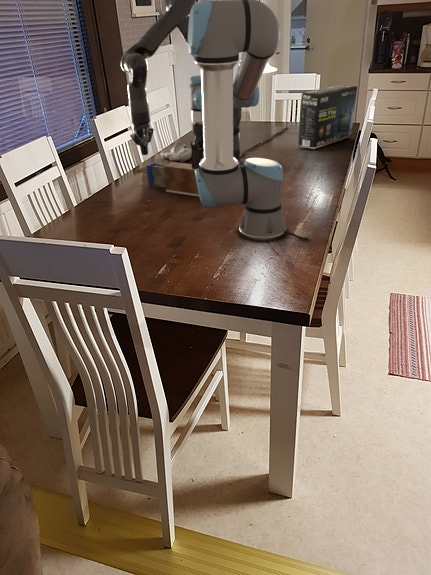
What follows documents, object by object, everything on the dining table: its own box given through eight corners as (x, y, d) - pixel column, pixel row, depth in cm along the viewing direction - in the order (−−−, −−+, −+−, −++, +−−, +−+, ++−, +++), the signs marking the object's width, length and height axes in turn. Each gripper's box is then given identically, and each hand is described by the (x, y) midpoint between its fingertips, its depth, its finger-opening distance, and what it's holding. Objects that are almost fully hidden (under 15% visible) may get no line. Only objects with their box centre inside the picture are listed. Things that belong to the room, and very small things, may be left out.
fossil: (184, 156, 217) (163, 136, 220) (174, 174, 223) (154, 154, 227) (205, 153, 231) (186, 134, 234) (195, 171, 237) (176, 152, 240)
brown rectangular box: (166, 191, 187) (163, 166, 182) (174, 186, 192) (172, 161, 187) (210, 198, 178) (208, 171, 173) (218, 193, 183) (216, 166, 178)
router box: (314, 151, 231) (318, 94, 217) (296, 148, 237) (299, 92, 224) (352, 138, 251) (358, 85, 238) (335, 135, 258) (340, 83, 245)
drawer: (137, 184, 194) (135, 164, 189) (145, 181, 198) (142, 160, 193) (188, 192, 183) (186, 170, 178) (195, 188, 187) (193, 166, 182)
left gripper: (142, 106, 186) (147, 149, 195) (121, 112, 176) (127, 158, 185) (157, 107, 182) (161, 151, 191) (136, 114, 173) (142, 159, 182)
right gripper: (206, 116, 177) (208, 174, 189) (178, 126, 163) (183, 189, 175) (223, 117, 174) (224, 177, 186) (196, 128, 159) (200, 192, 171)
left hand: (145, 154), depth 188 cm, fingers closed
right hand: (204, 182), depth 180 cm, fingers closed on brown rectangular box, 6 cm apart
